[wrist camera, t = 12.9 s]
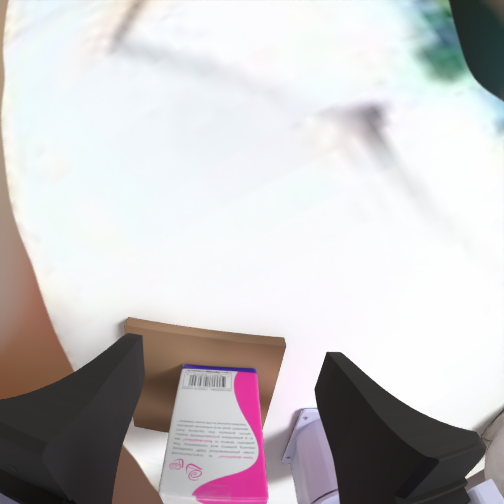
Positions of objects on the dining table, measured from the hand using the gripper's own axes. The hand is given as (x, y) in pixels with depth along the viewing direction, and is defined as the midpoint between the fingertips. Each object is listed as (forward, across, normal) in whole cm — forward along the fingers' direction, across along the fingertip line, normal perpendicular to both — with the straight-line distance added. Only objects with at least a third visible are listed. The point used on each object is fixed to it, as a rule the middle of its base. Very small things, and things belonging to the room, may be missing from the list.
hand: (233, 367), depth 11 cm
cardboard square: (+11, +2, +11) cm, 16 cm away
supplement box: (+9, 0, +10) cm, 14 cm away
